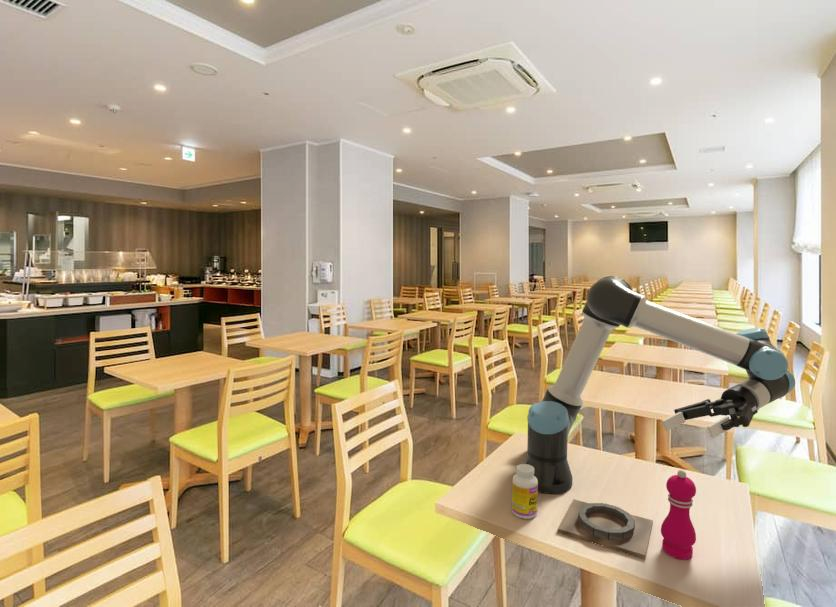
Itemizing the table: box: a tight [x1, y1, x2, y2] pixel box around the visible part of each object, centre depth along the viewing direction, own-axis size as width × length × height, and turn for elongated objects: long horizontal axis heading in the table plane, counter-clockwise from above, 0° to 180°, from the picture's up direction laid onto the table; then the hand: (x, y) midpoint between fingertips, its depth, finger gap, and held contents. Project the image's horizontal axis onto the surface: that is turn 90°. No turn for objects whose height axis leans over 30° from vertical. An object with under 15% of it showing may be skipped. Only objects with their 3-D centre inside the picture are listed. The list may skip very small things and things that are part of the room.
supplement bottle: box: [511, 463, 538, 520], centre depth 126 cm, size 7×7×13 cm
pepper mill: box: [660, 469, 697, 560], centre depth 109 cm, size 7×7×20 cm
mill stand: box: [557, 498, 654, 560], centre depth 119 cm, size 20×16×3 cm
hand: (686, 429), depth 116 cm, fingers open, 13 cm apart
